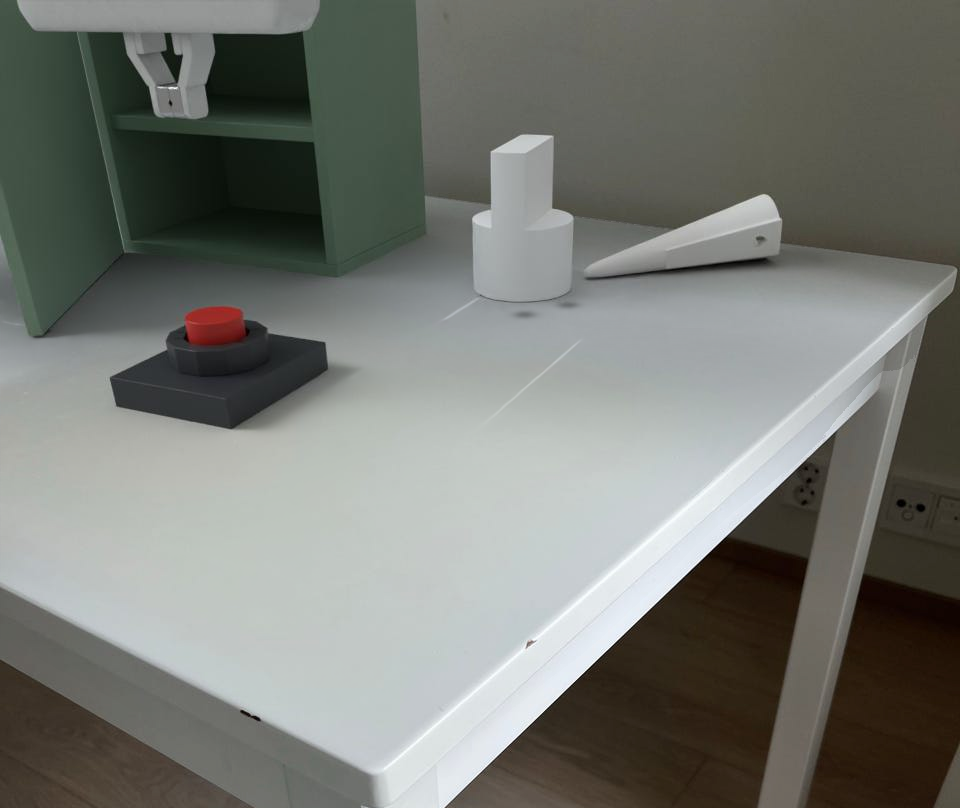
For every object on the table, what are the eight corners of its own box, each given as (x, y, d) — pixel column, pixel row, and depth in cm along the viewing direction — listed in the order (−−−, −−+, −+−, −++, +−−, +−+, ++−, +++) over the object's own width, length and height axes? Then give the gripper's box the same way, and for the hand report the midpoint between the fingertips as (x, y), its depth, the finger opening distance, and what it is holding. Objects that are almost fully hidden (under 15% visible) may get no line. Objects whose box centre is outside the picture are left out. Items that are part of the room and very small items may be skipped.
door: (-44, 338, 83) (-157, -9, 69) (56, 253, 104) (-15, -24, 90) (42, 335, 83) (-53, -11, 69) (124, 252, 104) (64, -26, 90)
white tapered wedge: (567, 279, 100) (749, 244, 102) (587, 305, 95) (778, 267, 97) (565, 221, 96) (754, 185, 98) (585, 245, 91) (784, 206, 93)
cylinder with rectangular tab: (491, 270, 97) (490, 132, 90) (582, 277, 94) (587, 136, 87) (459, 297, 90) (455, 150, 83) (555, 305, 87) (559, 155, 80)
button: (223, 352, 69) (218, 326, 68) (177, 344, 70) (172, 319, 69) (257, 334, 71) (254, 309, 70) (212, 327, 73) (208, 303, 72)
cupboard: (338, 278, 95) (308, -29, 81) (124, 251, 105) (64, -28, 91) (426, 234, 108) (414, -37, 94) (229, 214, 118) (191, -35, 104)
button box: (231, 430, 67) (221, 372, 64) (116, 407, 70) (102, 351, 68) (328, 370, 75) (323, 317, 73) (221, 352, 79) (213, 301, 77)
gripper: (-50, -157, 56) (22, 118, 64) (248, -182, 49) (287, 132, 57) (35, -152, 61) (92, 104, 69) (319, -174, 53) (345, 116, 61)
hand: (182, 117), depth 63 cm, fingers closed
